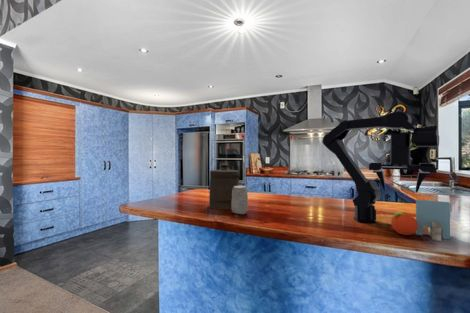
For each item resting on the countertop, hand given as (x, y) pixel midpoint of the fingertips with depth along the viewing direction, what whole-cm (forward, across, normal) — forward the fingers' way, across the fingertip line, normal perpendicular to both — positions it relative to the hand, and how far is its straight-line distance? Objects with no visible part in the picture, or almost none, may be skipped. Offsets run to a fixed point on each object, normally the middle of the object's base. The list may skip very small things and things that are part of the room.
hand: (400, 191), depth 81 cm
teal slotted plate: (+13, -8, +4) cm, 16 cm away
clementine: (+13, -1, +9) cm, 16 cm away
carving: (+13, +57, +19) cm, 61 cm away
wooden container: (+13, +72, +12) cm, 74 cm away
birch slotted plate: (+13, -9, +4) cm, 16 cm away
